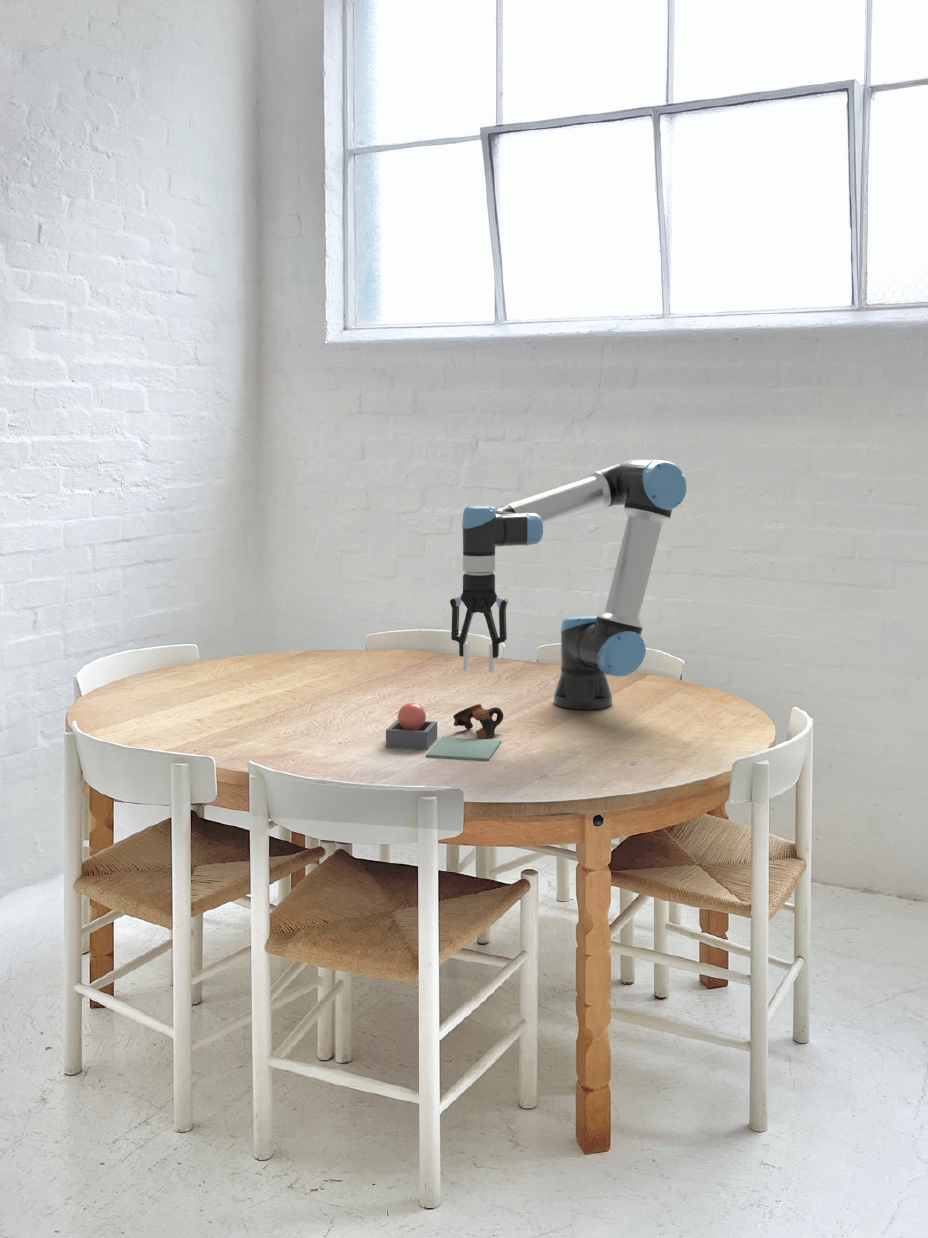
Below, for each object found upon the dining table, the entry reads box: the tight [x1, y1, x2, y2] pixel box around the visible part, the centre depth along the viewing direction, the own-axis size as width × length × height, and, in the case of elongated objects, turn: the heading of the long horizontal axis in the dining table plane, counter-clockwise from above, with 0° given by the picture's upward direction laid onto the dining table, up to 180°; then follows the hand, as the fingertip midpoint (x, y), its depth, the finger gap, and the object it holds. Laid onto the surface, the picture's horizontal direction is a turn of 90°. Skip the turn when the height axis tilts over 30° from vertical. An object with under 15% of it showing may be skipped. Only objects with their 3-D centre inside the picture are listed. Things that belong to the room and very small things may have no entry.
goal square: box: [425, 736, 502, 761], centre depth 258 cm, size 14×15×1 cm
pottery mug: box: [452, 703, 504, 739], centre depth 271 cm, size 12×10×8 cm
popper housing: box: [385, 718, 438, 750], centre depth 263 cm, size 10×10×4 cm
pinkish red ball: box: [397, 702, 427, 730], centre depth 263 cm, size 6×6×6 cm
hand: (478, 670), depth 271 cm, fingers open, 5 cm apart
